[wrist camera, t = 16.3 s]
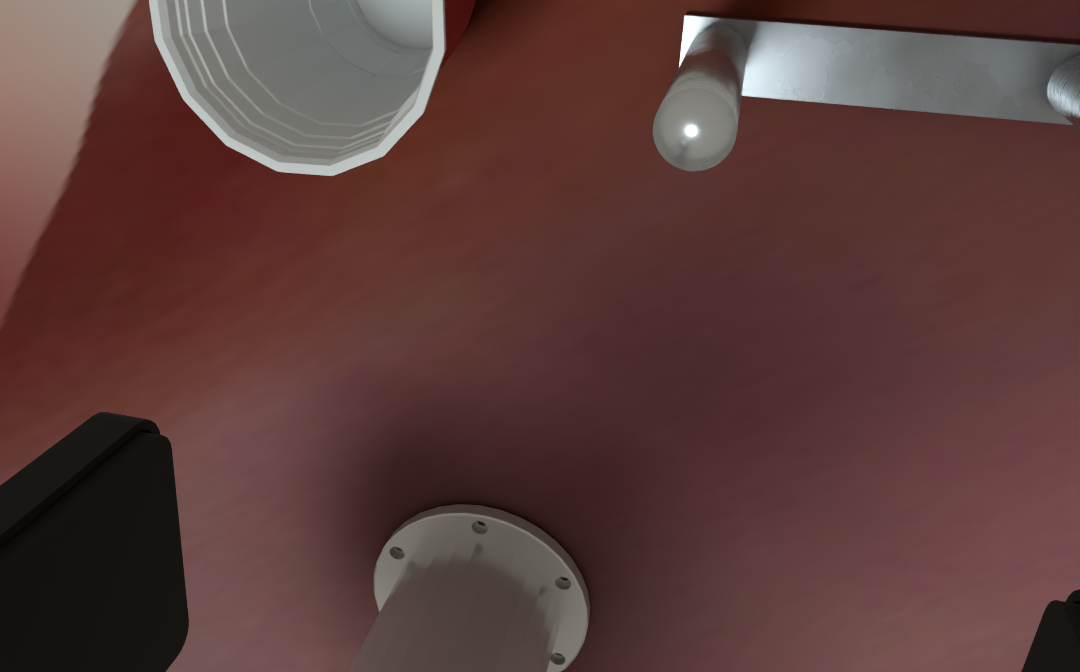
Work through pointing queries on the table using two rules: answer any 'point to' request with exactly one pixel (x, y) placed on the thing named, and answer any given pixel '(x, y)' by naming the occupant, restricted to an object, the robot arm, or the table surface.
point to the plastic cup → (308, 72)
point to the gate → (853, 77)
